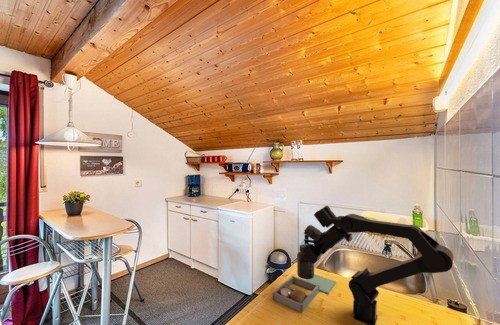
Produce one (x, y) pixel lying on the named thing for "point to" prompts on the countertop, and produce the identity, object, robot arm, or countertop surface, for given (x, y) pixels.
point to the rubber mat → (322, 283)
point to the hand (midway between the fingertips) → (303, 258)
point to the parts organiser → (287, 284)
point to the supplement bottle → (304, 266)
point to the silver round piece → (286, 292)
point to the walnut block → (298, 296)
